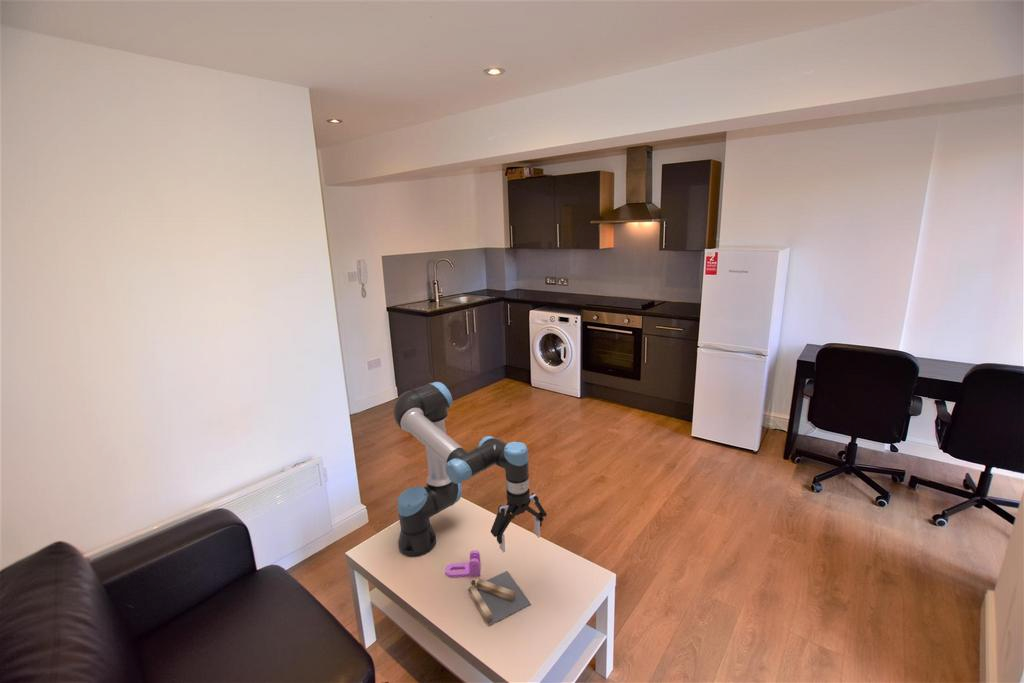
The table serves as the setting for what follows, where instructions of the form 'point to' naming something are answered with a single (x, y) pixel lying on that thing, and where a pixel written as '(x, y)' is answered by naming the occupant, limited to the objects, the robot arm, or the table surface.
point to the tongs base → (480, 602)
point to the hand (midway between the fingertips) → (520, 542)
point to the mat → (500, 605)
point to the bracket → (465, 567)
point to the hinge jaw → (496, 589)
